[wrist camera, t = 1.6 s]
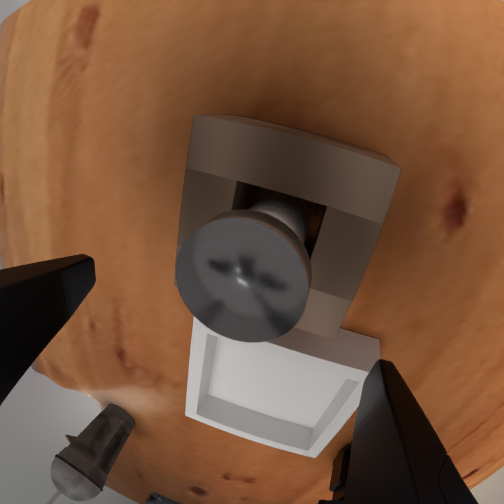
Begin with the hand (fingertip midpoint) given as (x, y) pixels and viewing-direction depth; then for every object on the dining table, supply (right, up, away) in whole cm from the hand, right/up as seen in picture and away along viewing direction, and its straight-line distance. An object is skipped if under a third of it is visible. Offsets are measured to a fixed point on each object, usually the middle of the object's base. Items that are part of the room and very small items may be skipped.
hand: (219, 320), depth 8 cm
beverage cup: (-17, -21, +28) cm, 38 cm away
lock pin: (+3, +5, +9) cm, 11 cm away
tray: (+3, -8, +15) cm, 17 cm away
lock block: (+3, +4, +9) cm, 11 cm away
